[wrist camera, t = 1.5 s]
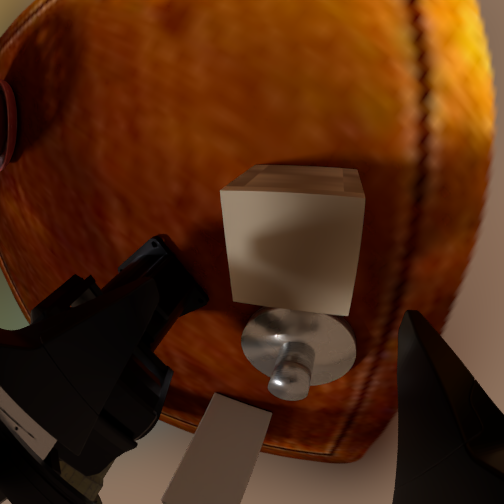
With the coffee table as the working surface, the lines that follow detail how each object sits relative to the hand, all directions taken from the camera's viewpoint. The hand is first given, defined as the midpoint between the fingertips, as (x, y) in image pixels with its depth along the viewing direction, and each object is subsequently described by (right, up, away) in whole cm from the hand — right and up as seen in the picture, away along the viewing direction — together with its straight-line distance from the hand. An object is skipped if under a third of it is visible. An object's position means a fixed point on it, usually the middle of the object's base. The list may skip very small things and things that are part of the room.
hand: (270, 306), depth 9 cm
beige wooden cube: (+2, +4, +7) cm, 8 cm away
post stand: (+3, -5, +12) cm, 13 cm away
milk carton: (-2, -18, +21) cm, 28 cm away
